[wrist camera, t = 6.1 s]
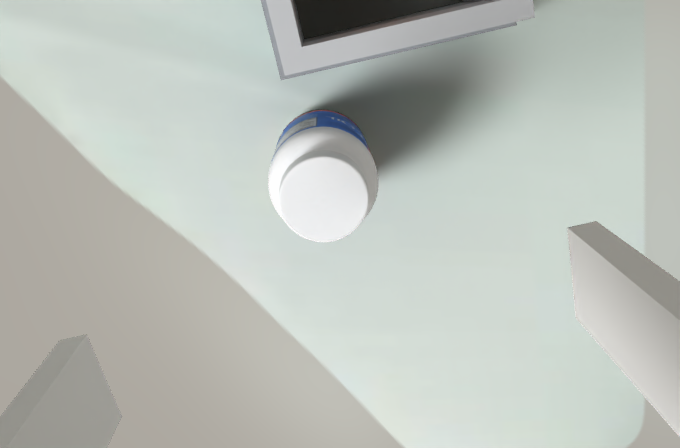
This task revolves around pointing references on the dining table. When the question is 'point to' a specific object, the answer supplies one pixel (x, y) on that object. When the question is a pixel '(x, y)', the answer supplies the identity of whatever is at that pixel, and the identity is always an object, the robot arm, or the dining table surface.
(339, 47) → the grey compartment organizer
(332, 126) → the pill bottle
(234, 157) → the dining table surface
